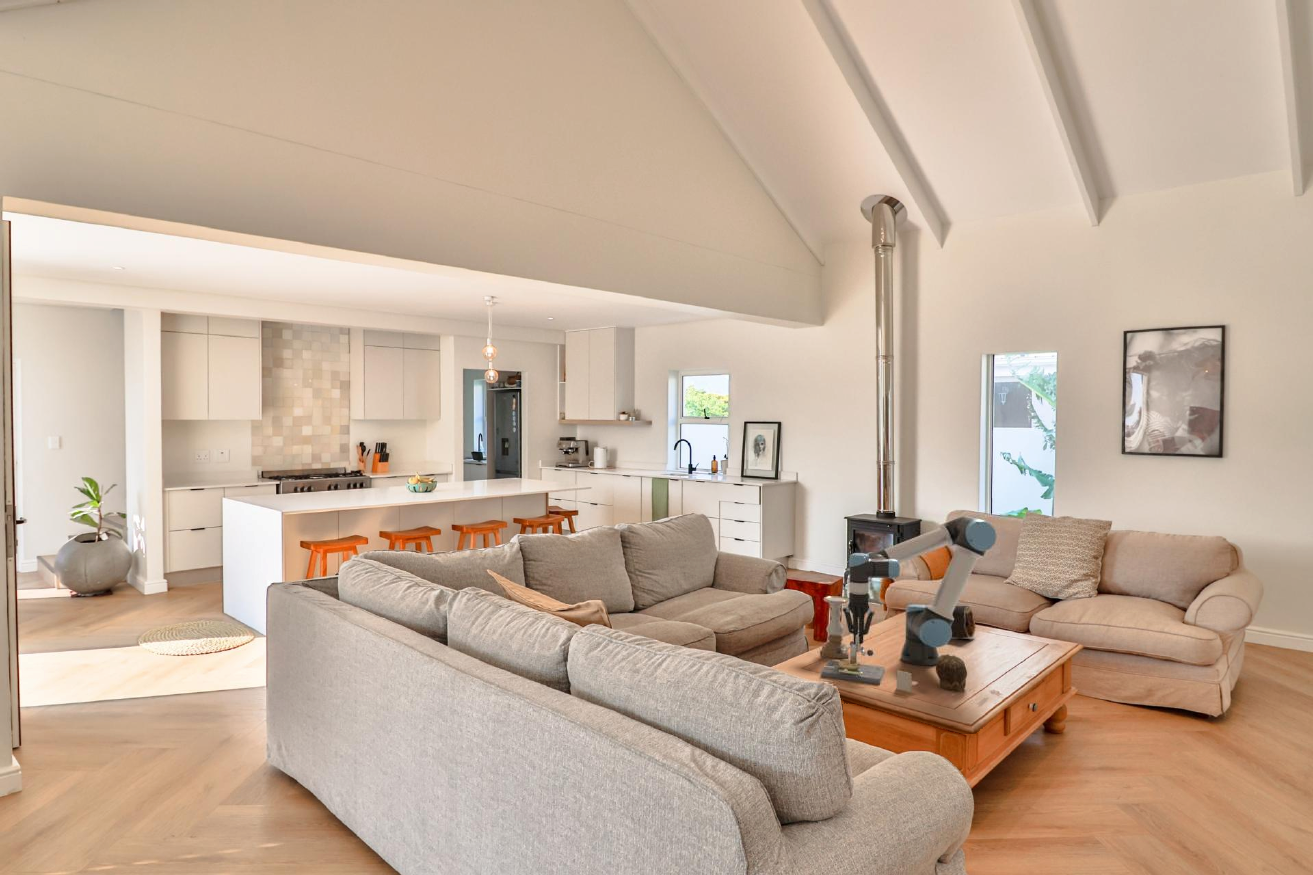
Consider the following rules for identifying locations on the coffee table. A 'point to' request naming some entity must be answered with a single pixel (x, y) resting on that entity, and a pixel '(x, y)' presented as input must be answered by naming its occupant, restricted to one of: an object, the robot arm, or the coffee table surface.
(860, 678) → the stand
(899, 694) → the coffee table surface
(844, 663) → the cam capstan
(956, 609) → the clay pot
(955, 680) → the dark brown rounded lump
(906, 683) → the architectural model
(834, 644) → the candle holder
